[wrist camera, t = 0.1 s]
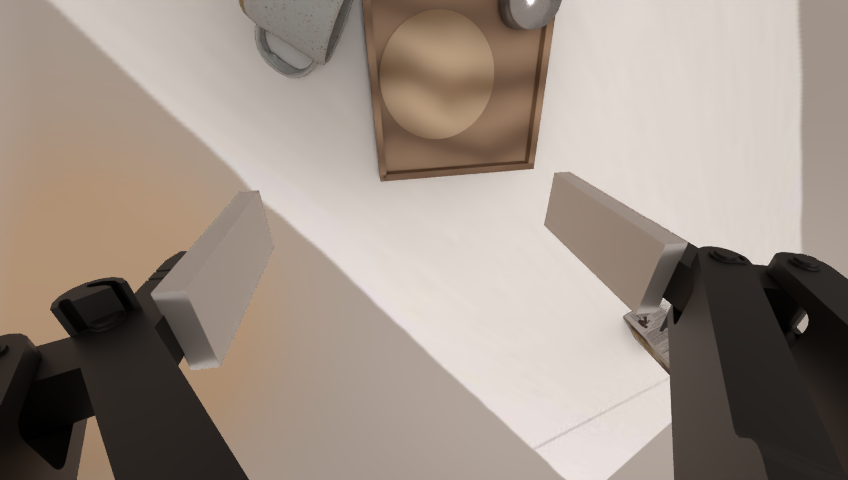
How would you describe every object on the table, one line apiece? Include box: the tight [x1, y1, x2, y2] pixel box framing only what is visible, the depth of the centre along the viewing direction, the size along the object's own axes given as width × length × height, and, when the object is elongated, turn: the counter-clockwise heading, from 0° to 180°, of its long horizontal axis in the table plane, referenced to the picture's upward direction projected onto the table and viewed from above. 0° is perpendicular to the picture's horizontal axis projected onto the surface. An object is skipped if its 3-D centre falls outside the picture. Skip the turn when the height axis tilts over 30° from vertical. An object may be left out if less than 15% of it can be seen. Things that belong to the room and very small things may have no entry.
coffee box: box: [624, 306, 670, 375], centre depth 59 cm, size 9×6×16 cm
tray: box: [362, 0, 555, 181], centre depth 37 cm, size 22×20×2 cm
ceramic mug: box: [239, 0, 353, 78], centre depth 30 cm, size 11×8×8 cm
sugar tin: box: [498, 0, 561, 30], centre depth 34 cm, size 5×5×5 cm
